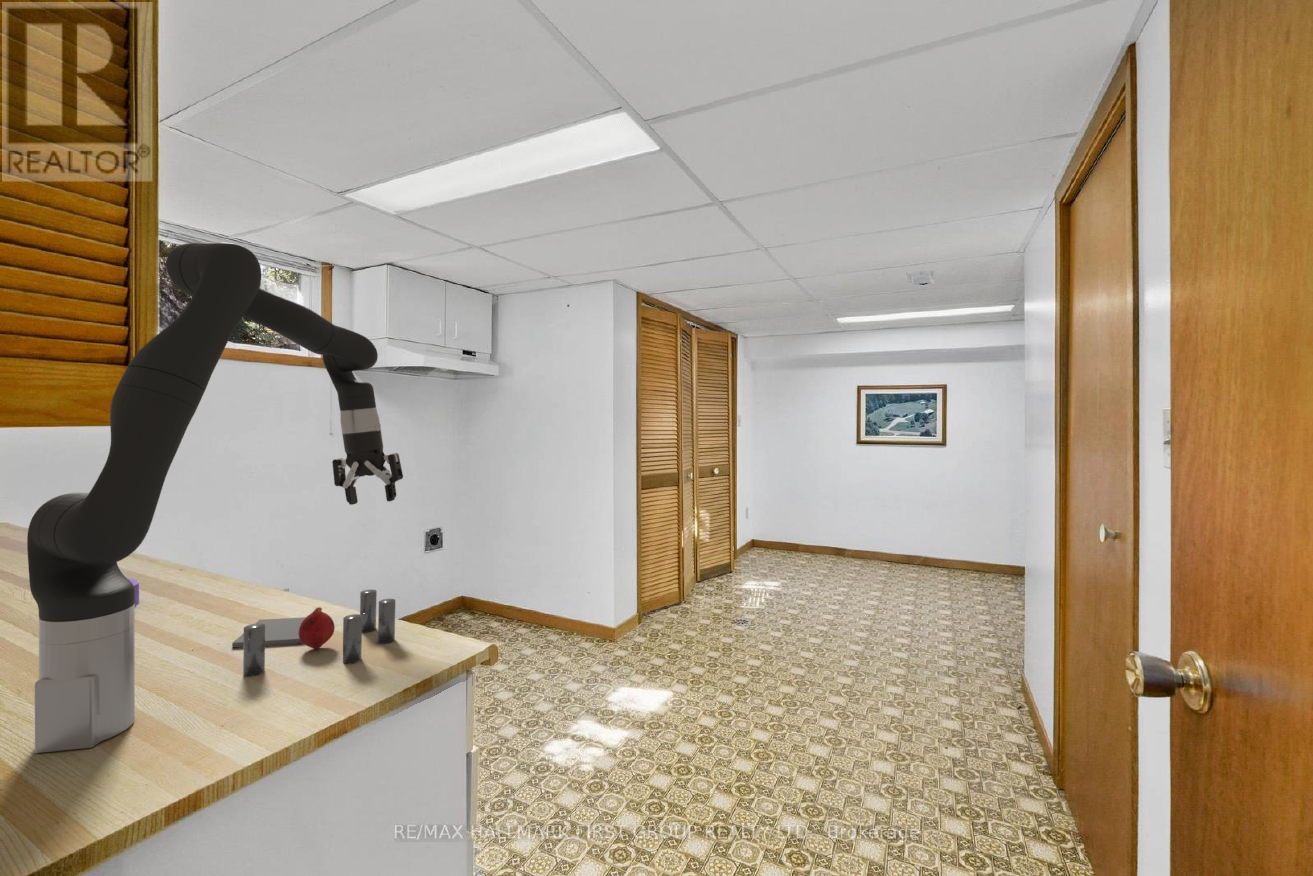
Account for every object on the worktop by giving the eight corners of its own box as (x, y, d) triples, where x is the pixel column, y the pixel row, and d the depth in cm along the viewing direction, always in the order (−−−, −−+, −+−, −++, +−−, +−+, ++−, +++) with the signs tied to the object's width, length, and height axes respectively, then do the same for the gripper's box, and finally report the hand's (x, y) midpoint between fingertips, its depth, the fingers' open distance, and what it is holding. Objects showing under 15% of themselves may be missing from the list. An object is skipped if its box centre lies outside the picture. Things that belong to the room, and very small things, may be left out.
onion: (317, 657, 102) (317, 614, 101) (290, 653, 103) (291, 611, 103) (340, 644, 108) (341, 604, 107) (315, 641, 109) (316, 601, 108)
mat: (304, 643, 107) (304, 638, 107) (232, 648, 104) (232, 642, 104) (323, 620, 119) (323, 616, 119) (259, 624, 116) (259, 619, 116)
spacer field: (381, 666, 99) (382, 622, 99) (239, 676, 93) (240, 630, 93) (401, 624, 118) (402, 588, 118) (284, 631, 112) (285, 593, 112)
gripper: (319, 434, 117) (330, 509, 119) (384, 428, 117) (395, 503, 118) (340, 431, 125) (351, 501, 126) (401, 425, 124) (411, 496, 126)
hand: (372, 502), depth 122 cm, fingers open, 8 cm apart
